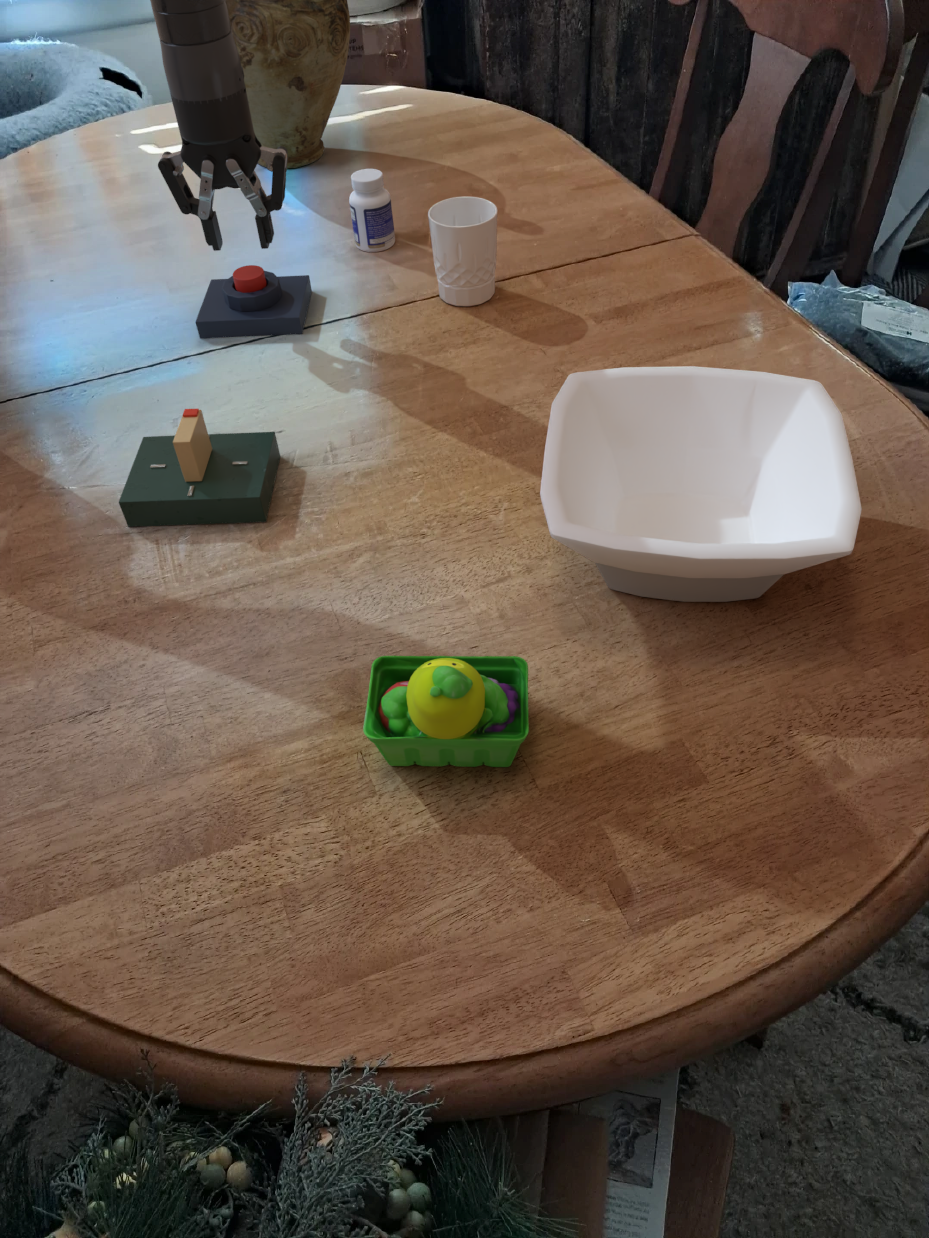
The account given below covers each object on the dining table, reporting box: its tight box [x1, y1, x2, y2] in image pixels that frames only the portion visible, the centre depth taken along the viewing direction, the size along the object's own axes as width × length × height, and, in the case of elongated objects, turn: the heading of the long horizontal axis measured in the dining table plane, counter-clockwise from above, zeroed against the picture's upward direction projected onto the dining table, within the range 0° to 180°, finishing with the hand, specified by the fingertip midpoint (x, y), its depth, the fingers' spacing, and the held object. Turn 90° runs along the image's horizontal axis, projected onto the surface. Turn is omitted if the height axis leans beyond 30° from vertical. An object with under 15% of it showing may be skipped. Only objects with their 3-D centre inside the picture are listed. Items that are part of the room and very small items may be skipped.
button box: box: [195, 270, 313, 340], centre depth 117 cm, size 12×10×4 cm
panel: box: [118, 431, 281, 528], centre depth 94 cm, size 13×10×3 cm
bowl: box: [539, 365, 863, 603], centre depth 83 cm, size 24×25×10 cm
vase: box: [226, 0, 351, 169], centre depth 140 cm, size 23×23×30 cm
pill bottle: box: [348, 168, 396, 253], centre depth 126 cm, size 5×5×9 cm
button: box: [232, 264, 267, 293], centre depth 115 cm, size 4×4×2 cm
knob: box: [173, 408, 212, 482], centre depth 91 cm, size 5×2×5 cm, turn 179°
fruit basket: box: [362, 655, 530, 768], centre depth 69 cm, size 11×9×11 cm
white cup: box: [427, 195, 498, 307], centre depth 116 cm, size 8×8×10 cm
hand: (242, 246), depth 112 cm, fingers open, 5 cm apart
